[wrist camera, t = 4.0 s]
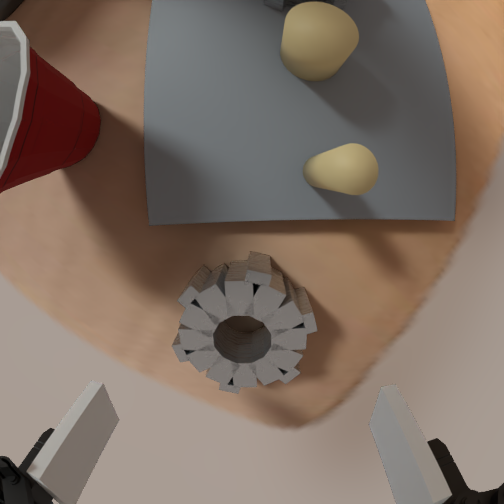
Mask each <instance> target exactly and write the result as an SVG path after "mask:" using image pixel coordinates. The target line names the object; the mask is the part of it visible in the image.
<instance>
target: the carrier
mask: <svg viewBox="0 0 504 504" xmlns="http://www.w3.org/2000/svg"><path fill="white" fill-rule="evenodd" d="M144 156H145V178H146V194H147V207H148V218H149V226H153V225H170V224H189V223H210V222H235V221H266V220H313V219H404V220H448V221H455V206H456V150H455V134H454V123H453V114H452V106H451V99H450V93H449V87H448V81H447V76H446V71H445V66H444V62H443V57H442V53H441V49H440V45H439V42H438V38H437V34H436V31H435V28H434V25H433V21H432V18H431V15H430V12H429V10H428V7H427V4H426V1H425V0H349V1H348V2H347V4H346V6H345V8H344V10H341V9H339V8H338V7H335V6H333V5H331V4H328V3H323V2H305V3H301V4H299V5H296V6H295V7H289V6H286V7H285V9H284V10H283V11H282V12H281V11H278V10H276V9H273V8H270V7H268V6H265V5H264V0H152V7H151V14H150V22H149V31H148V41H147V53H146V67H145V88H144Z"/></svg>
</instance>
